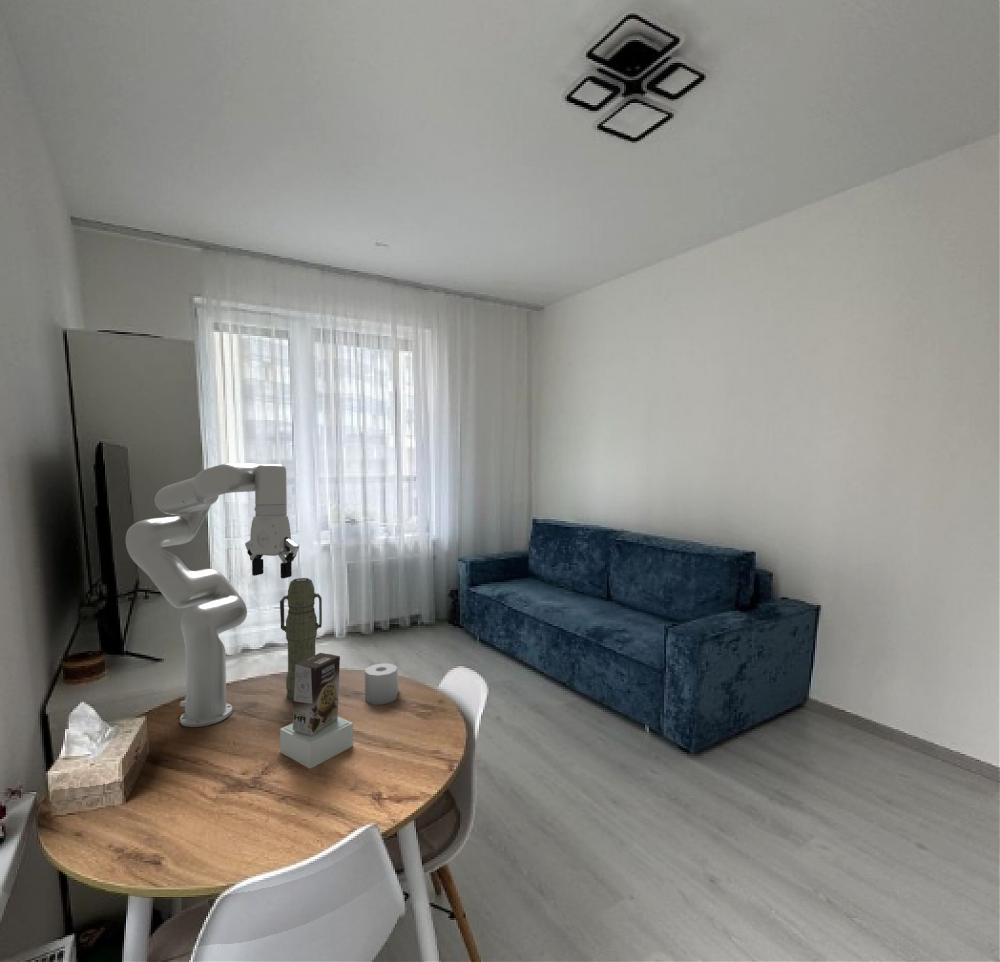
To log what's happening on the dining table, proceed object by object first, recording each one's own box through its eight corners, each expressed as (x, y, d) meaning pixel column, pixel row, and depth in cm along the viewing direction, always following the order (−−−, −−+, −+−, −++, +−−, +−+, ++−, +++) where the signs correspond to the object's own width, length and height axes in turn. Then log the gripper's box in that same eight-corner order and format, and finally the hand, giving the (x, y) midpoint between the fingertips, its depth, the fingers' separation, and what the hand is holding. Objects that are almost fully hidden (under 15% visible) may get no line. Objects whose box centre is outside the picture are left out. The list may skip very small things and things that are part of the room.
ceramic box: (280, 753, 124) (280, 727, 124) (323, 732, 133) (322, 709, 133) (310, 770, 117) (309, 743, 117) (352, 747, 126) (352, 722, 126)
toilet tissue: (400, 685, 162) (400, 658, 162) (394, 704, 149) (394, 675, 149) (371, 686, 162) (371, 659, 161) (362, 705, 148) (362, 675, 148)
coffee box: (313, 737, 119) (315, 668, 119) (291, 730, 122) (293, 663, 121) (339, 719, 128) (341, 655, 127) (318, 713, 130) (320, 651, 130)
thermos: (281, 691, 158) (280, 578, 157) (321, 685, 162) (320, 575, 162) (280, 703, 150) (279, 584, 149) (322, 696, 154) (322, 580, 153)
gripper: (234, 511, 134) (235, 576, 134) (285, 513, 128) (286, 581, 128) (257, 509, 141) (258, 571, 141) (307, 511, 135) (308, 575, 135)
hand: (271, 576), depth 135 cm, fingers open, 9 cm apart
